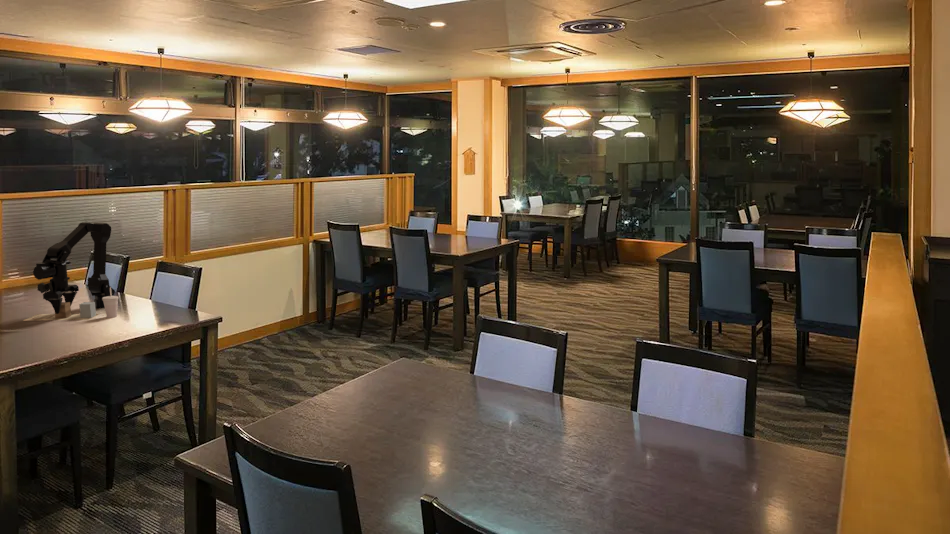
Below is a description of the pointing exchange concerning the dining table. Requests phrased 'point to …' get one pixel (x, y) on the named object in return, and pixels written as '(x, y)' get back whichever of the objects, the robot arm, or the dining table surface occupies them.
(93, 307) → the slate block
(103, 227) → the robot arm
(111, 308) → the smoothie
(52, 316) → the board
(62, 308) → the walnut block
